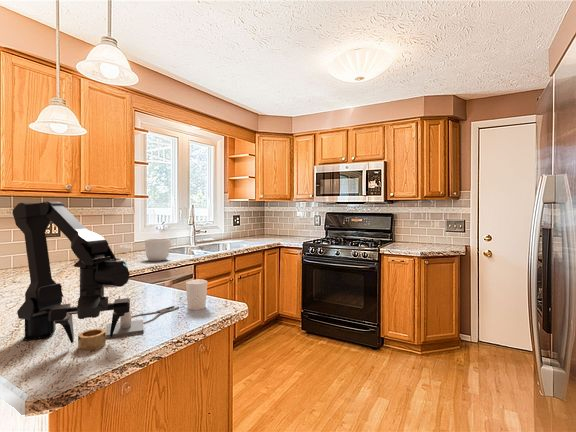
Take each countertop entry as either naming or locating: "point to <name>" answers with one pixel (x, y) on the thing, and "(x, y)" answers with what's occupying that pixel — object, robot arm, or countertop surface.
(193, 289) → the white cup
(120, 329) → the grey peg stand
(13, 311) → the countertop surface
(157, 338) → the countertop surface
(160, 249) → the planter
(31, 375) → the countertop surface
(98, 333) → the ring
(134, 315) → the pliers
